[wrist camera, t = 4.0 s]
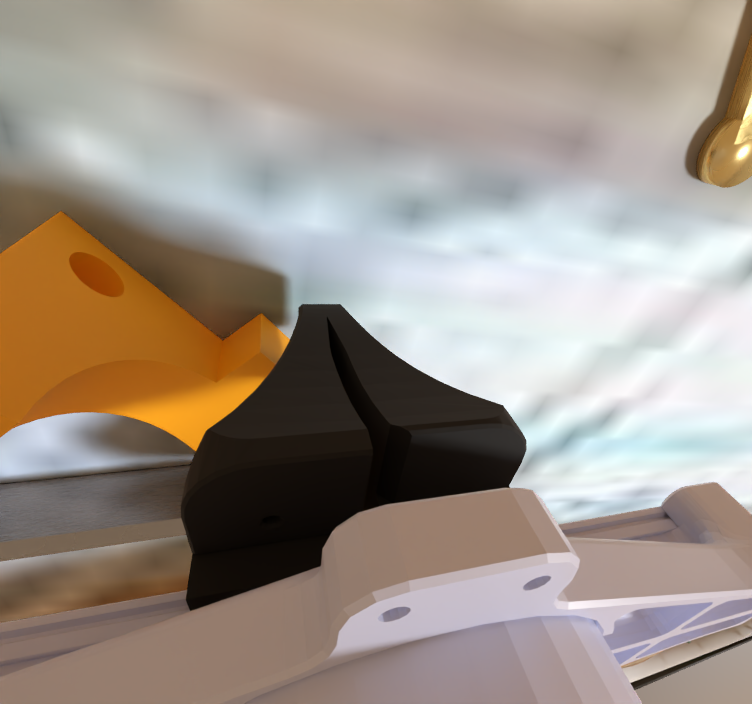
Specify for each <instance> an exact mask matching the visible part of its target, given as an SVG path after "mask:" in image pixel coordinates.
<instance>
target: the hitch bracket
mask: <svg viewBox="0 0 752 704" xmlns="http://www.w3.org/2000/svg"><path fill="white" fill-rule="evenodd" d="M190 466H191V465H186V466H176V467H166V468H157V469H147V470H137V471H127V472H117V473H108V474H98V475H88V476H78V477H68V478H59V479H49V480H39V481H29V482H19V483H10V484H0V561H7V560H13V559H20V558H27V557H34V556H41V555H48V554H55V553H62V552H69V551H76V550H83V549H90V548H97V547H104V546H111V545H117V544H124V543H131V542H138V541H145V540H152V539H159V538H166V537H173V536H180V535H186V531H185V528H184V525H183V522H182V519H181V501H182V496H183V491H184V486H185V481H186V477H187V474H188V471H189V468H190Z"/></svg>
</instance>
